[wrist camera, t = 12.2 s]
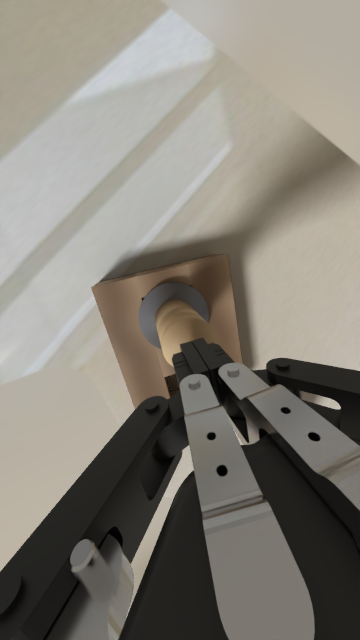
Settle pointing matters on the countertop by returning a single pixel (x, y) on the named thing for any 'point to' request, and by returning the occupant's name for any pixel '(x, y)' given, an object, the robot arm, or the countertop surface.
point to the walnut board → (124, 330)
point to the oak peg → (174, 317)
